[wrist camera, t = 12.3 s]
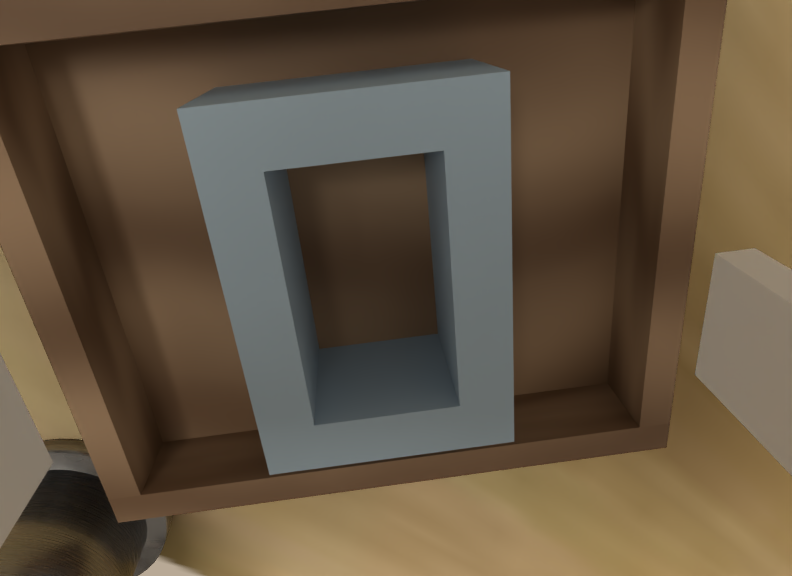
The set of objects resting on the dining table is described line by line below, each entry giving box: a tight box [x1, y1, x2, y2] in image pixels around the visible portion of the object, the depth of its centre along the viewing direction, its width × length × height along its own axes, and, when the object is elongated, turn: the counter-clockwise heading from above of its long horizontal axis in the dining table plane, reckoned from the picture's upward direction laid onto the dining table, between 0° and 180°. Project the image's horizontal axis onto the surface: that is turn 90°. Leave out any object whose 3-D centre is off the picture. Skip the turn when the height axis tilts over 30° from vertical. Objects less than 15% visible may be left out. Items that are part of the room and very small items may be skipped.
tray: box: [0, 0, 727, 523], centre depth 17 cm, size 15×18×4 cm
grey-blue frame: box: [177, 59, 514, 475], centre depth 16 cm, size 7×10×4 cm
